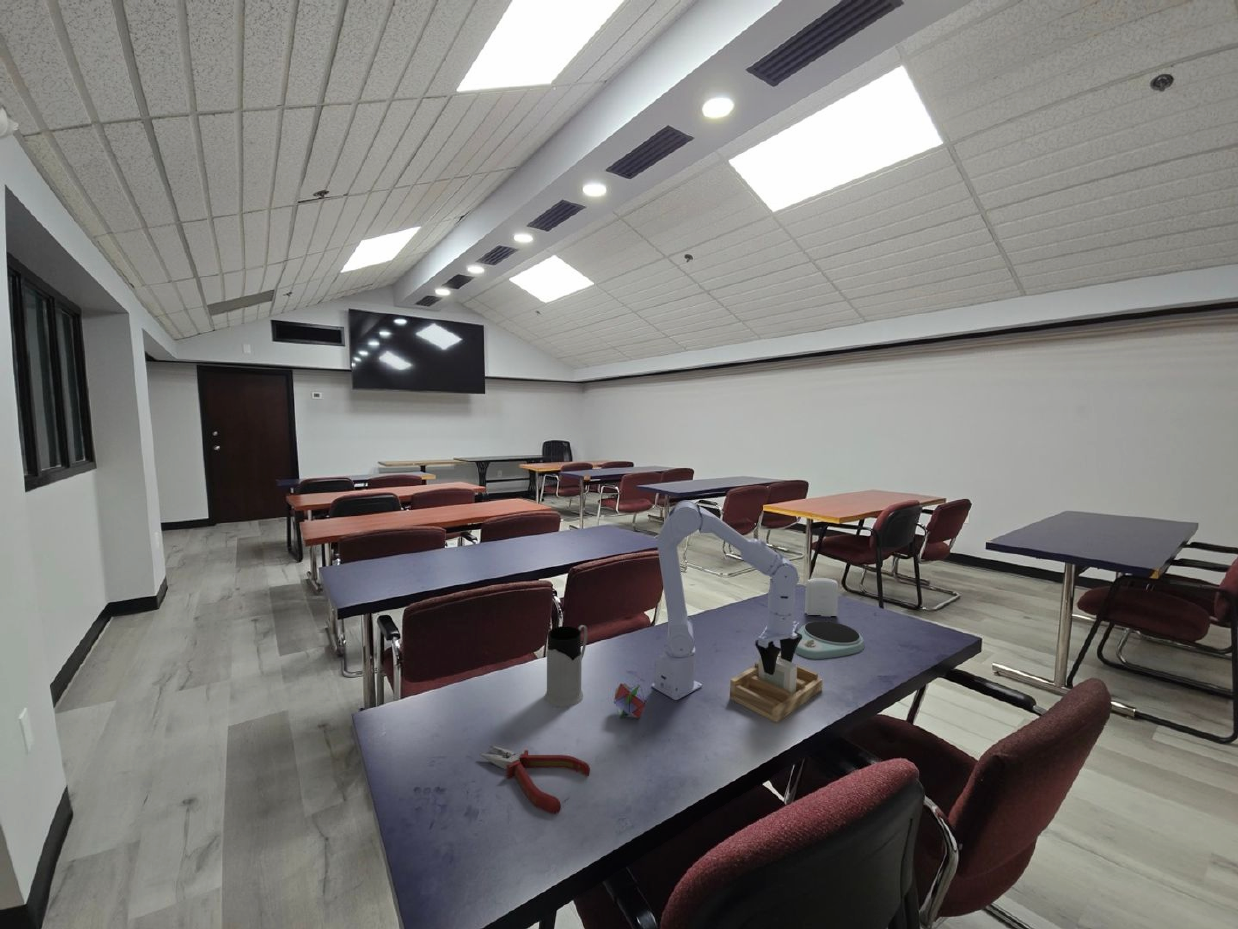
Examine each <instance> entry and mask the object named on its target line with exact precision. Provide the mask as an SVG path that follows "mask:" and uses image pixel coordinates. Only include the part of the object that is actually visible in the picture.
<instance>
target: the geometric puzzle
mask: <svg viewBox="0 0 1238 929" xmlns="http://www.w3.org/2000/svg"><path fill="white" fill-rule="evenodd" d="M631 685H635V684H631ZM633 688H634V689H633ZM639 689H641V694H642V695H644V693H643V690H642V689H643V688H641V684H637V685H635V686H633V687H629V685H628V684H627V683H620V684H619V685H618V686H617V687H616V688H615V690H614V691H615V693H614V698H613V699H614V700H613V702H612V703H613V704H614V706H615V707H617V708H616V713H617V715H619V711H618V708H619V709H621V710H622V711H621V713H620V716H618V719H623V718H625V717H626V715H625V714H627V719H629V717H632V718H633V719H636V720H640V718H641V715H642V713H643V710H644V708H645V706H646V704H647V703H646V701H647V700H646V699H645V696H641V695H640V694H638V693H637V692H638V691H639ZM632 715H633V716H632Z"/></svg>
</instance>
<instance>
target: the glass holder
mask: <svg viewBox="0 0 1238 929" xmlns="http://www.w3.org/2000/svg"><path fill="white" fill-rule="evenodd" d="M582 629H583V631H584V636H583V644H582V631H581V630H582ZM587 641H588V628H587V626H586V625H583V624H581V625H579V626H578V628H577V627H575V626H569V625H563V626H556V627H553V628H552V629H550V630H548V632H547V651H546V692H545V694H544V701H545V702H546V703H547V704H548V705H550V706H552V707H556V708H563V709H564V708H570V707H574V706H576V705H578V704H580V703H581V702H582V700H583V698H584V693H583V691H582V690H583V689H582V671H583V670H582V664H583V662H582V661H583V658H584V655H585V651H586V648H587V646H586V645H587Z"/></svg>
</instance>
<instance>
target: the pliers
mask: <svg viewBox="0 0 1238 929" xmlns="http://www.w3.org/2000/svg"><path fill="white" fill-rule="evenodd" d="M489 747H490V749H491V750H492V751H494V752H495V753H496V754H492V753H479V756H480V757H482V758H483V759H486V761H489V762H490V763H492V764H494V765H496V766H497V767H500V768H501V769H504V770H506V777H507V779H508V780H509V779H512V778H514V777H515V778H516V780H517V782H518V784H519V786H520V788H521V789H522V791H523V792H524V794H525V795H526V797H527V799H528V800H529V801H530V803H531V804H533V806H535V807H536V808H538V809H541V810H544V811H545V812H549V813H551V814H559V812H560V811H561V809H562V805H561V801H560V799H559V798H557V797H556V796H553V795H552V794H549V793H546V792H544V791H542V790H541V789H539V788H538V787H537V786H536V785H535V783H534V782H533V780H532V778H531V777H530V775H529V774H528V772H527V771H526V769H542V768H543V769H546V768H547V769H554V768H555V769H556V768H557V769H559V768H560V769H568V770H571V771H575V772H577V773H579V774H580V775H584V776H585V777H588V776H589V775H590V771H591V770H590V769H591V767H590V764H588V763H587V762H586V761H584V760H581V759H578V758H577V757H575V756H571V755H567V754H529V750H528V749H524V750H523V753H521V754H520V755H517V754H516V752H514V751H513V750H509V749H505V748H502V747H498V746H494V745H489Z"/></svg>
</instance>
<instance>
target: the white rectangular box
mask: <svg viewBox="0 0 1238 929" xmlns="http://www.w3.org/2000/svg"><path fill="white" fill-rule="evenodd" d="M758 662H759V672H758V677H759V678H761V679H764V680H766V681H768V682H770V683H772V684H774V685H777V686H779V687H781V688H783V689H785V690H788V691H790V692H791V696H792V695H793V694H795V693H796V679H797V665H798V664H796V663H794V662H789V661H787V660H784V659H782V658H779V657H777V660H776V666H775V671H774V674H773V675H770V674H768V673H765V672H764V669H763V664H762V660H761V656H760V655H759V656H758Z"/></svg>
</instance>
